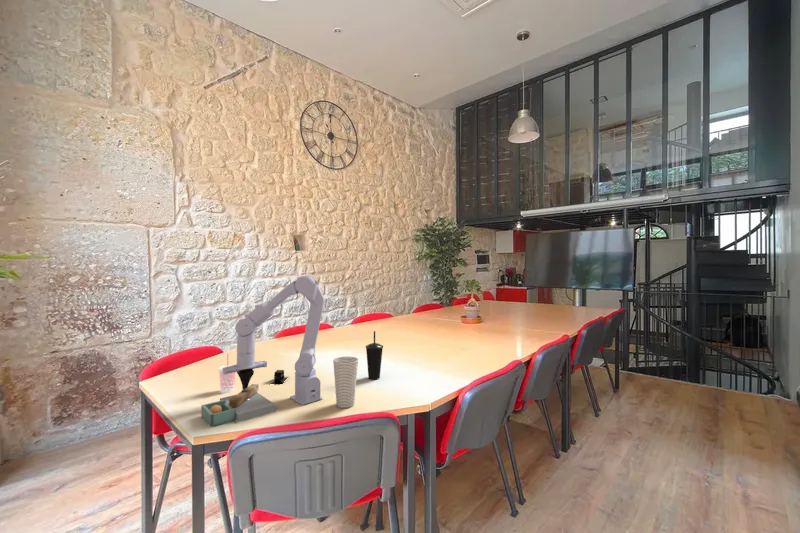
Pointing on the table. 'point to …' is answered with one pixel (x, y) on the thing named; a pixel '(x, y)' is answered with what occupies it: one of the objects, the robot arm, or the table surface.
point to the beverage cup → (226, 380)
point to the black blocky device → (279, 377)
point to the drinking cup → (374, 359)
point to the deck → (252, 407)
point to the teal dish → (218, 414)
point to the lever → (243, 395)
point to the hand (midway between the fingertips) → (244, 390)
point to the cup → (345, 380)
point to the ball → (216, 409)
